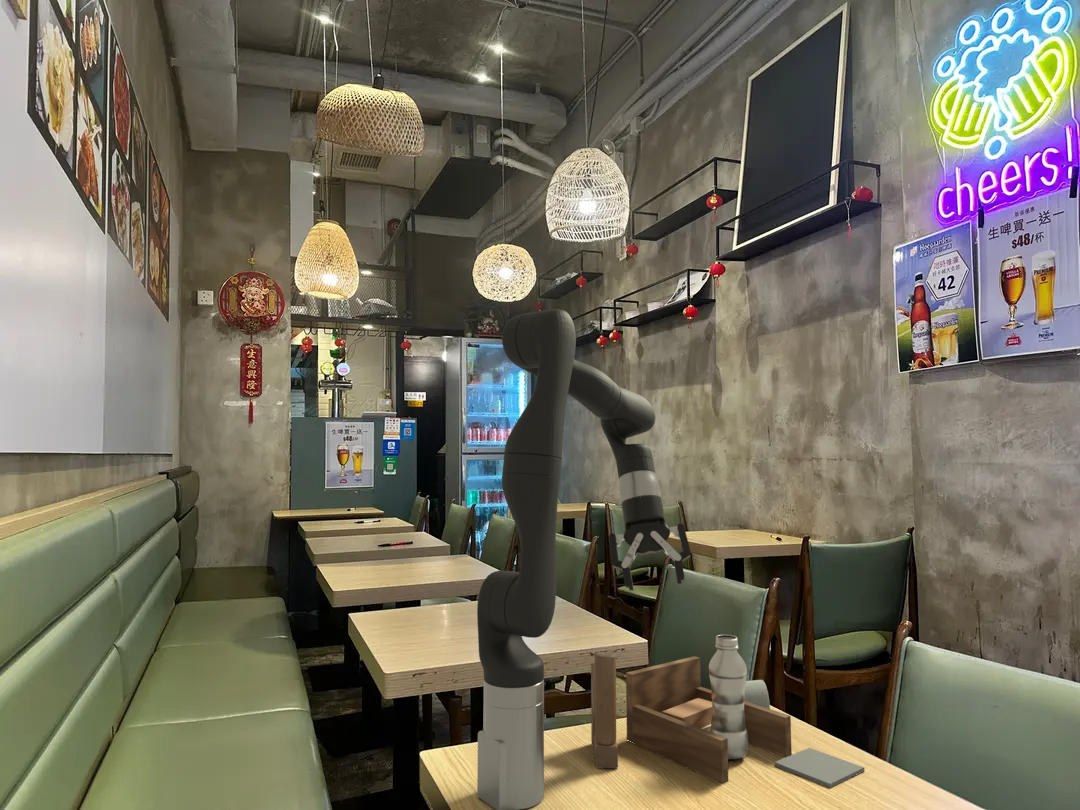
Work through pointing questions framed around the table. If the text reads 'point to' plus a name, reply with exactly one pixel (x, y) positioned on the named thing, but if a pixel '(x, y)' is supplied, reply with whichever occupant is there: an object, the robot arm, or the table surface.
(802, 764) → the slate mat
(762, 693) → the ceramic mug
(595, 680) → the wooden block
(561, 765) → the table surface
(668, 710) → the tan rectangular block
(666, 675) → the walnut rack
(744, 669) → the silver bottle
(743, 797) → the table surface
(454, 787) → the table surface
